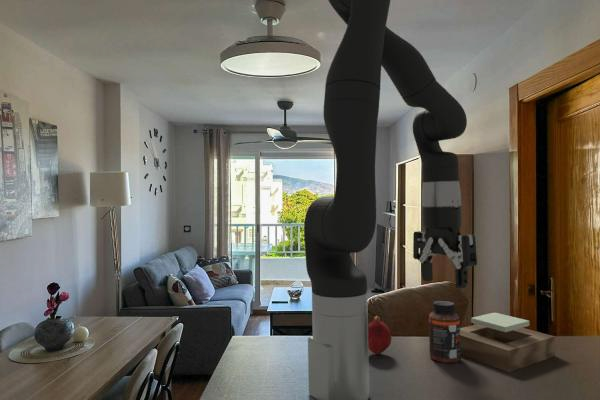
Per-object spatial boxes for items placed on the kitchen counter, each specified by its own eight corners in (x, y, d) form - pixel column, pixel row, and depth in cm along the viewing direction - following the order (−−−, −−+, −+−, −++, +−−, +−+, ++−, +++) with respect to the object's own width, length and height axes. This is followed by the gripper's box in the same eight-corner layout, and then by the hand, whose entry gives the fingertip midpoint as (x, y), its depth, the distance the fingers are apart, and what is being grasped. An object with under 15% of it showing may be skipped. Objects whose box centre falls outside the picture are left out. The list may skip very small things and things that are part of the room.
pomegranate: (392, 360, 85) (391, 320, 85) (363, 359, 86) (362, 320, 86) (390, 350, 90) (390, 313, 90) (363, 349, 91) (363, 312, 91)
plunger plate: (505, 332, 82) (505, 327, 82) (471, 322, 89) (470, 317, 89) (529, 325, 86) (529, 320, 86) (494, 316, 93) (494, 312, 93)
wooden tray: (509, 372, 78) (508, 350, 78) (448, 349, 90) (448, 331, 90) (555, 356, 85) (554, 336, 85) (493, 337, 97) (493, 320, 97)
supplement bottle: (463, 365, 82) (461, 306, 82) (431, 363, 83) (430, 306, 83) (458, 354, 87) (456, 299, 88) (428, 352, 89) (427, 299, 89)
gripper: (402, 205, 90) (405, 281, 90) (457, 204, 77) (460, 293, 77) (428, 203, 93) (430, 276, 93) (484, 203, 81) (486, 287, 81)
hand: (443, 284), depth 85 cm, fingers open, 8 cm apart
